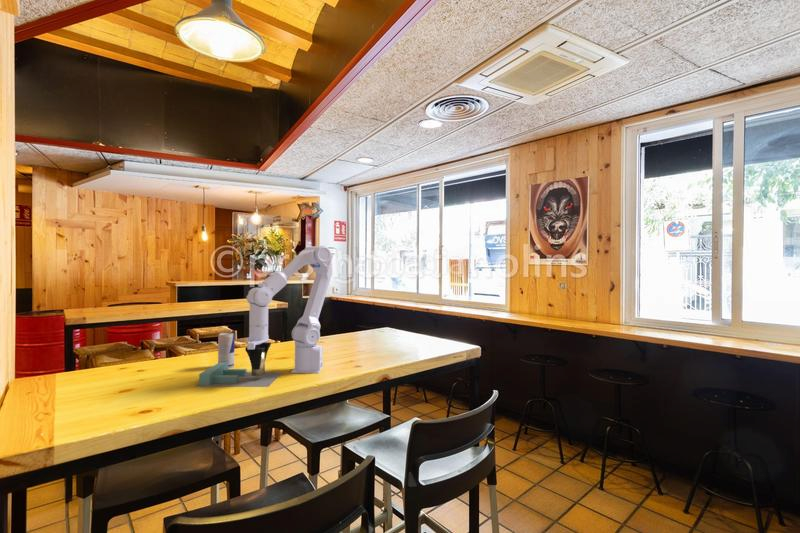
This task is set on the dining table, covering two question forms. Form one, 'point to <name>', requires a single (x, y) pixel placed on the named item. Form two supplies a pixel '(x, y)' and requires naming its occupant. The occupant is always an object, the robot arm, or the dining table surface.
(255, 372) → the brass tube
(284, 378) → the dining table surface
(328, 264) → the robot arm
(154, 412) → the dining table surface
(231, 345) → the energy drink
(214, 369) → the socket dock
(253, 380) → the mat
